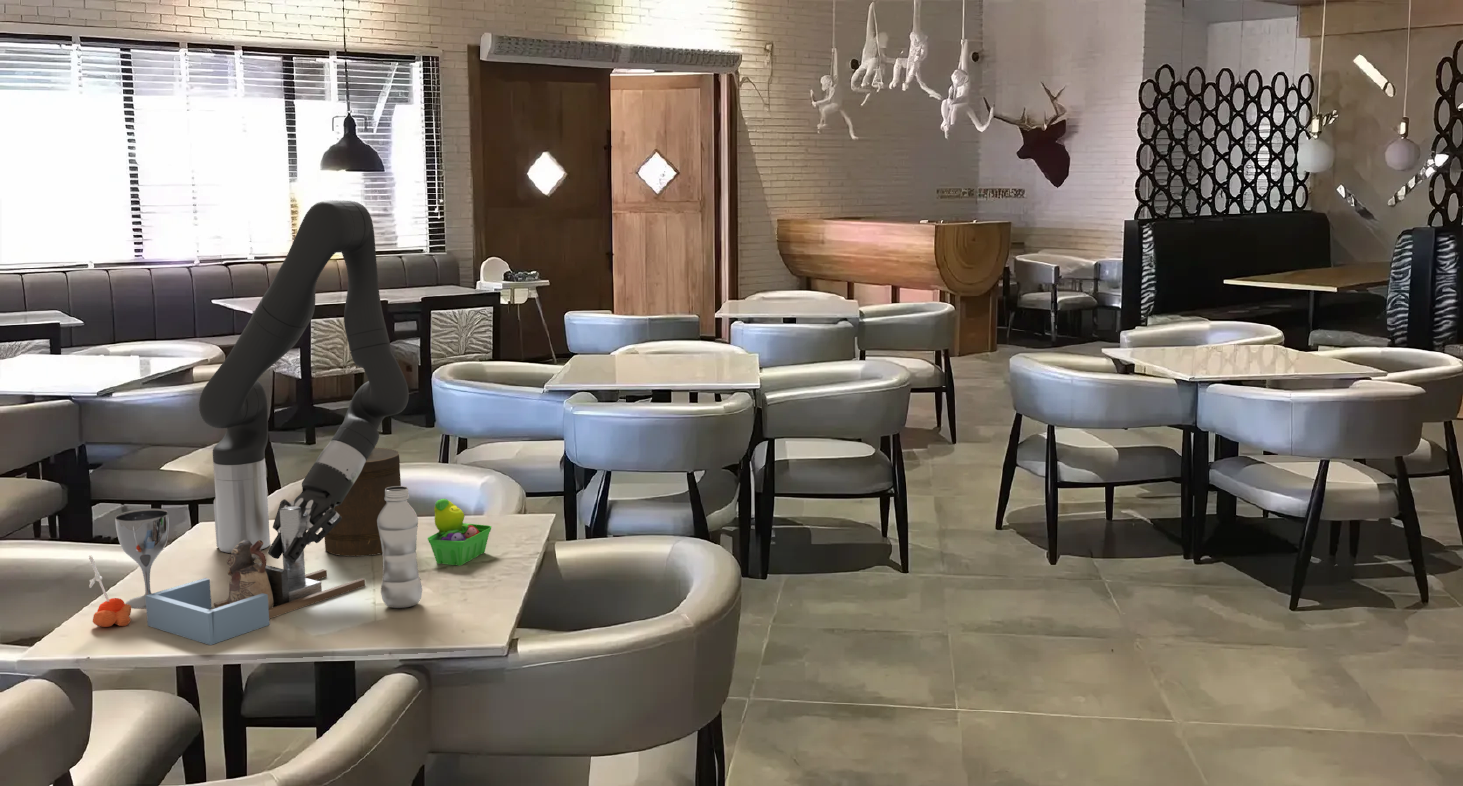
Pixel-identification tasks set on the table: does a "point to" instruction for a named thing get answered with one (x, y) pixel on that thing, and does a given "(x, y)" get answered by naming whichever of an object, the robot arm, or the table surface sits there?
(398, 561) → the plastic bottle
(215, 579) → the table surface
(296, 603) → the lane rails
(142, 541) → the wine glass
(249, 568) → the figurine
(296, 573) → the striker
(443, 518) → the fruit basket
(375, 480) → the wooden container
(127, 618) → the orange lumpy food
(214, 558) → the table surface
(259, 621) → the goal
